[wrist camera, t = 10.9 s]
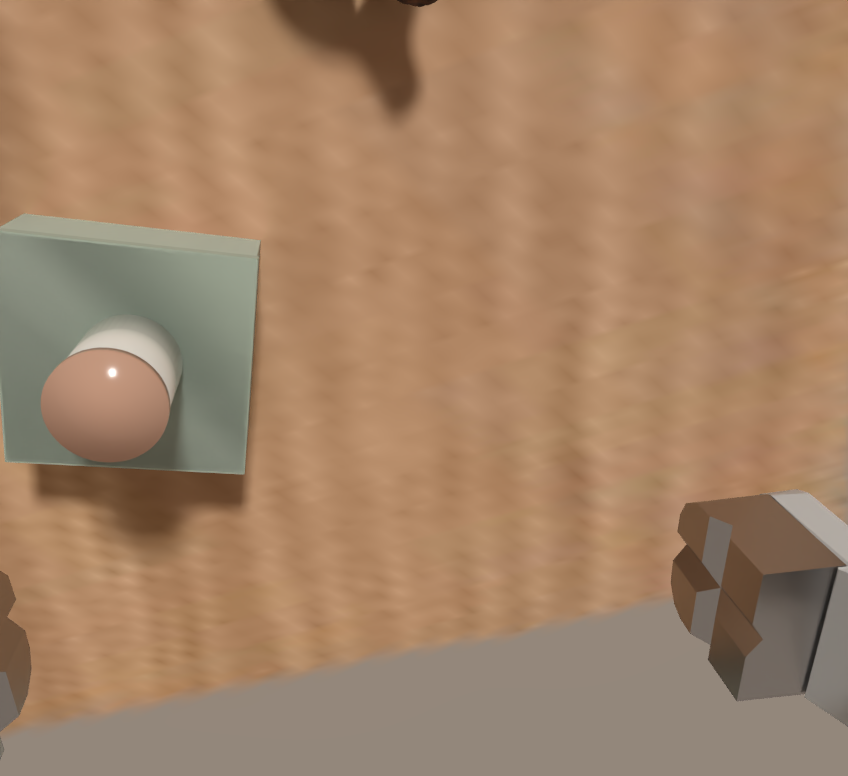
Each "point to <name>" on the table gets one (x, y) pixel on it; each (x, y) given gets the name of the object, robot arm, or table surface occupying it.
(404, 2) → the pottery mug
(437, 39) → the table surface
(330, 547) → the table surface
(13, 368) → the sage box
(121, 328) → the pink capped tube
